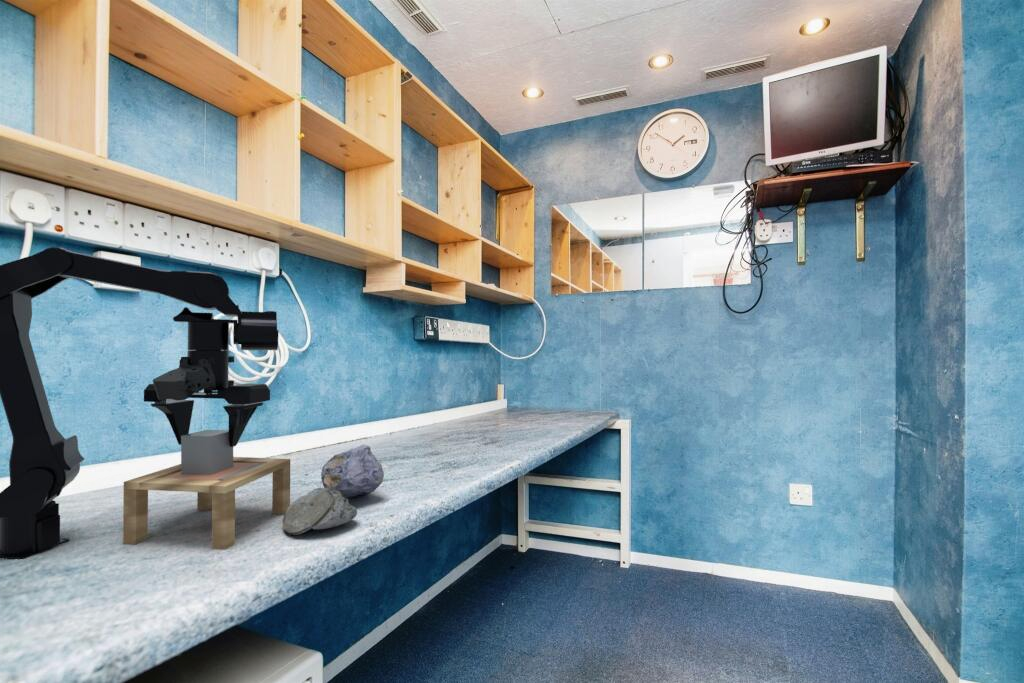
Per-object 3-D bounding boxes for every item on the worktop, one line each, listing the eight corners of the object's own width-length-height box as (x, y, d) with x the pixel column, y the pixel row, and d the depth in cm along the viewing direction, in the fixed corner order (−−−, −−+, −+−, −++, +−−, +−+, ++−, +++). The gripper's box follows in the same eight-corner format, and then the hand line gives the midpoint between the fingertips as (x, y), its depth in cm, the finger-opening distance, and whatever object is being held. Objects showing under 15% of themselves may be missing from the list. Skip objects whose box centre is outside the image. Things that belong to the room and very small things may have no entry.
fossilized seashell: (283, 501, 80) (319, 463, 77) (330, 519, 84) (365, 485, 82) (270, 550, 72) (310, 510, 69) (323, 568, 76) (362, 531, 73)
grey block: (181, 474, 74) (181, 435, 74) (205, 465, 79) (205, 429, 79) (210, 475, 73) (210, 436, 73) (233, 466, 78) (233, 430, 78)
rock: (358, 488, 96) (359, 438, 96) (390, 499, 89) (390, 446, 89) (307, 502, 87) (307, 447, 87) (337, 515, 81) (337, 456, 81)
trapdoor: (159, 484, 72) (159, 477, 72) (209, 467, 82) (209, 461, 82) (224, 486, 71) (224, 479, 71) (266, 468, 81) (266, 462, 81)
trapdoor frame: (123, 543, 69) (123, 481, 69) (205, 506, 85) (206, 455, 85) (224, 549, 67) (225, 486, 67) (290, 510, 83) (290, 458, 83)
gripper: (111, 350, 71) (110, 454, 71) (224, 351, 69) (222, 459, 69) (173, 349, 82) (172, 439, 82) (272, 350, 80) (271, 443, 80)
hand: (207, 445), depth 78 cm, fingers open, 9 cm apart
